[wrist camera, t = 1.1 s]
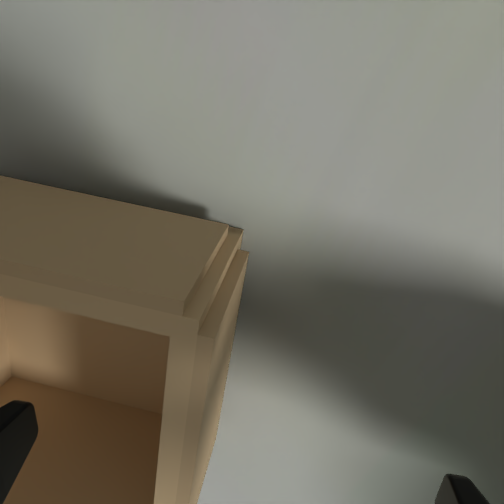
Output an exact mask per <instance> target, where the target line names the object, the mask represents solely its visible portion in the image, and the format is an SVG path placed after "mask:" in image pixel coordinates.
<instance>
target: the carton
mask: <svg viewBox="0 0 504 504" xmlns="http://www.w3.org/2000/svg"><path fill="white" fill-rule="evenodd" d="M242 235H243V229H239V228H234V227H229V225H228V224H223V223H219V222H214V221H209V220H205V219H200V218H195V217H191V216H186V215H182V214H177V213H172V212H168V211H163V210H158V209H154V208H149V207H144V206H140V205H135V204H130V203H126V202H121V201H116V200H112V199H107V198H103V197H98V196H93V195H89V194H84V193H79V192H75V191H70V190H65V189H61V188H56V187H51V186H47V185H42V184H37V183H33V182H28V181H24V180H19V179H14V178H10V177H5V176H0V407H1V406H3V405H5V404H7V403H9V402H11V401H13V400H21V401H27V402H31V403H32V404H33V405H34V408H35V413H36V418H37V423H38V435H37V438H36V441H35V443H34V444H33V446H32V448H31V450H30V452H29V454H28V456H27V458H26V460H25V462H24V464H23V466H22V468H21V470H20V472H19V474H18V476H17V478H16V480H15V482H14V484H13V486H12V487H11V489H10V491H9V493H8V495H7V497H6V499H5V501H4V503H3V504H197V501H198V498H199V494H200V491H201V488H202V484H203V481H204V477H205V474H206V470H207V467H208V464H209V460H210V457H211V453H212V450H213V446H214V443H215V440H216V435H217V429H218V424H219V418H220V412H221V407H222V401H223V396H224V390H225V384H226V379H227V373H228V368H229V362H230V356H231V351H232V345H233V340H234V334H235V328H236V323H237V317H238V312H239V306H240V300H241V295H242V289H243V284H244V278H245V272H246V267H247V261H248V256H249V252H247V251H242V250H240V247H241V241H242Z"/></svg>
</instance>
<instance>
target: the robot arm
mask: <svg viewBox="0 0 504 504" xmlns="http://www.w3.org/2000/svg"><path fill="white" fill-rule="evenodd" d="M37 435H38V423H37V418H36V413H35V408H34V405H33V404H32V403H31V402H27V401H21V400H13V401H11V402H9V403H7V404H5V405H3V406H1V407H0V504H3V503H4V501H5V499H6V497H7V495H8V493H9V491H10V489H11V487H12V486H13V484H14V482H15V480H16V478H17V476H18V474H19V472H20V470H21V468H22V466H23V464H24V462H25V460H26V458H27V456H28V454H29V452H30V450H31V448H32V446H33V444H34V443H35V441H36V438H37ZM435 504H489V502H488V501H487V500H486V499H485V497H484V496H483V495H482V494H481V492H480V491H479V490H478V489H477V488H476V486H475V485H474V484H473V483H472V481H471V480H470V479H468V478H467V477H464V476H460V475H454V474H447V475H445V476H444V478H443V481H442V483H441V486H440V489H439V491H438V494H437V497H436V500H435Z"/></svg>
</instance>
